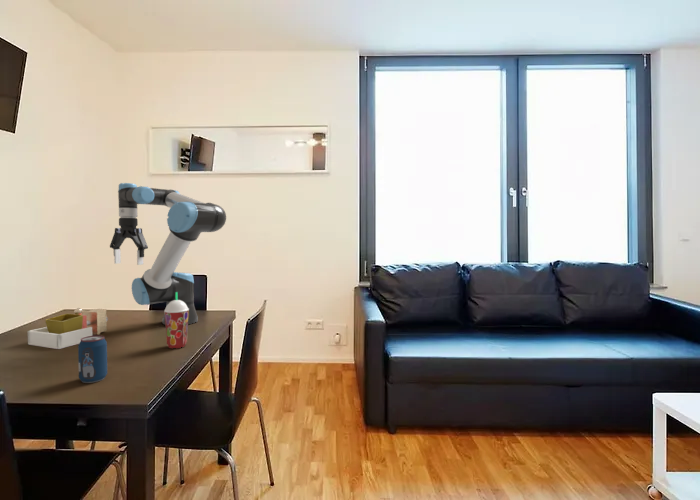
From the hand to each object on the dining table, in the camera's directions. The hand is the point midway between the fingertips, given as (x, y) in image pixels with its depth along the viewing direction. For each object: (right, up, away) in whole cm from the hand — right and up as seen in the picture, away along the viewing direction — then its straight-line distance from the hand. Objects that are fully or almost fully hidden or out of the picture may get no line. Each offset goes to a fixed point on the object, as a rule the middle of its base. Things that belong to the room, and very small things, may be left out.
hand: (128, 264), depth 189 cm
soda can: (+28, -31, -71) cm, 82 cm away
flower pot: (-7, -28, -32) cm, 43 cm away
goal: (-7, -28, -33) cm, 44 cm away
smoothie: (+38, -29, -38) cm, 61 cm away
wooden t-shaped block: (-3, -27, -22) cm, 35 cm away
